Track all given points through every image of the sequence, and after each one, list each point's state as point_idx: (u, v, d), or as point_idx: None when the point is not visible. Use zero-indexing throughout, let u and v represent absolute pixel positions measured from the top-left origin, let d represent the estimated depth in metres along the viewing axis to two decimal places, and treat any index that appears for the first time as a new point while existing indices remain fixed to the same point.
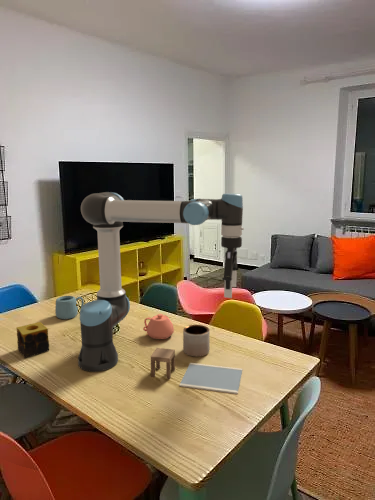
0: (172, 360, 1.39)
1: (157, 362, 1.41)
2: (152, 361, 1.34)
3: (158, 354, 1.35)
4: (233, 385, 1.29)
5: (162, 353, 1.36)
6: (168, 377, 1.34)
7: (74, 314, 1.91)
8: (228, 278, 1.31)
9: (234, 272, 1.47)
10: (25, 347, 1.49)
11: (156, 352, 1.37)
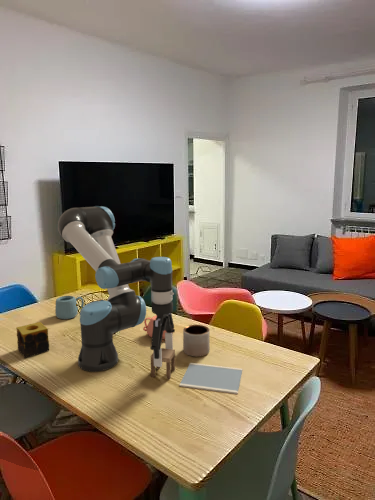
0: (172, 360, 1.39)
1: None
2: (152, 361, 1.34)
3: None
4: (233, 385, 1.29)
5: (162, 353, 1.36)
6: (168, 377, 1.34)
7: (74, 314, 1.91)
8: (155, 348, 1.25)
9: (170, 335, 1.41)
10: (25, 347, 1.49)
11: None
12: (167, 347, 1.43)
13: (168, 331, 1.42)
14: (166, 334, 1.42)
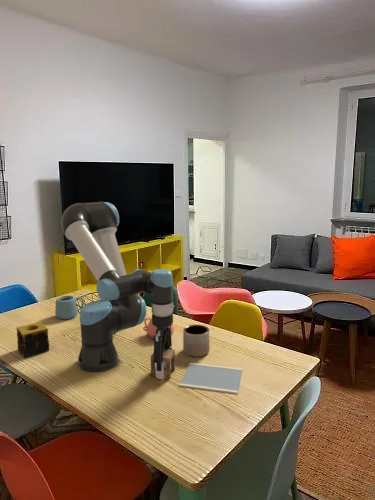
0: (172, 360, 1.39)
1: None
2: (152, 361, 1.34)
3: None
4: (233, 385, 1.29)
5: None
6: (168, 377, 1.34)
7: (74, 314, 1.91)
8: (158, 362, 1.30)
9: None
10: (25, 347, 1.49)
11: None
12: (164, 365, 1.41)
13: None
14: None
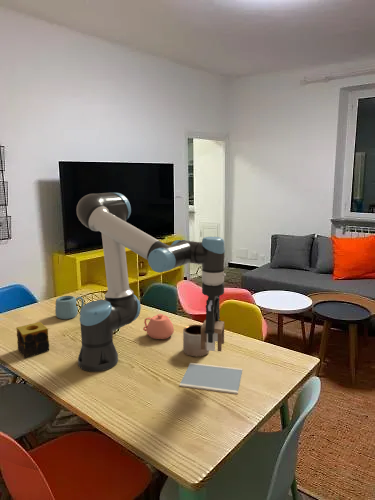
0: (221, 332, 1.33)
1: (205, 335, 1.35)
2: (202, 333, 1.29)
3: None
4: (233, 385, 1.29)
5: None
6: (219, 349, 1.28)
7: (74, 314, 1.91)
8: (210, 332, 1.24)
9: None
10: (25, 347, 1.49)
11: (205, 324, 1.31)
12: None
13: None
14: None
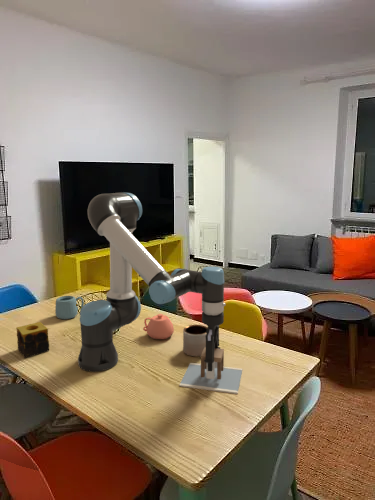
0: (221, 360, 1.35)
1: (205, 362, 1.37)
2: (202, 361, 1.31)
3: None
4: (233, 385, 1.29)
5: None
6: (219, 377, 1.30)
7: (74, 314, 1.91)
8: (210, 362, 1.26)
9: None
10: (25, 347, 1.49)
11: (205, 352, 1.33)
12: None
13: None
14: None
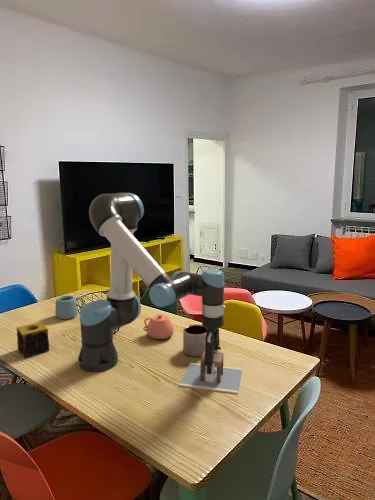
0: (221, 363, 1.35)
1: None
2: (202, 364, 1.31)
3: None
4: (233, 385, 1.29)
5: None
6: (218, 381, 1.31)
7: (74, 314, 1.91)
8: (209, 364, 1.25)
9: None
10: (25, 347, 1.49)
11: None
12: None
13: (214, 348, 1.38)
14: None
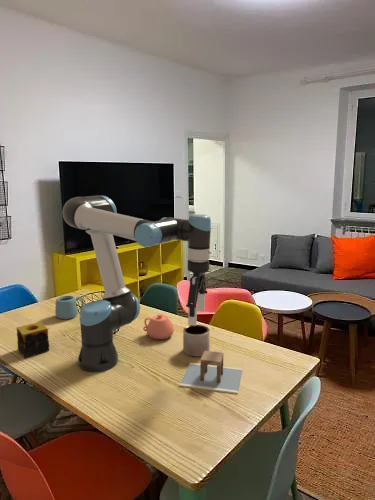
0: (221, 363, 1.35)
1: (205, 365, 1.37)
2: (202, 364, 1.31)
3: (208, 357, 1.32)
4: (233, 385, 1.29)
5: (212, 356, 1.33)
6: (218, 381, 1.31)
7: (74, 314, 1.91)
8: (192, 306, 1.23)
9: (202, 296, 1.39)
10: (25, 347, 1.49)
11: (205, 356, 1.33)
12: (199, 308, 1.41)
13: (200, 292, 1.40)
14: (198, 295, 1.40)
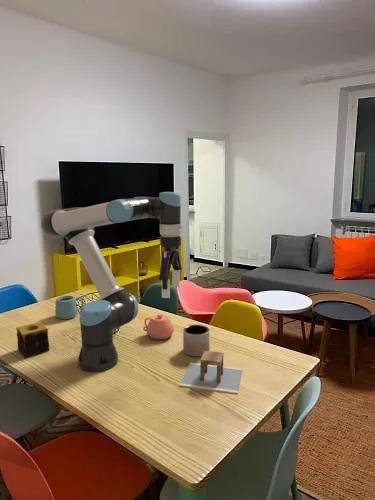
0: (221, 363, 1.35)
1: (205, 365, 1.37)
2: (202, 364, 1.31)
3: (208, 357, 1.32)
4: (233, 385, 1.29)
5: (212, 356, 1.33)
6: (218, 381, 1.31)
7: (74, 314, 1.91)
8: (163, 278, 1.29)
9: (177, 272, 1.45)
10: (25, 347, 1.49)
11: (205, 356, 1.33)
12: (174, 284, 1.46)
13: (175, 268, 1.45)
14: (173, 271, 1.45)
